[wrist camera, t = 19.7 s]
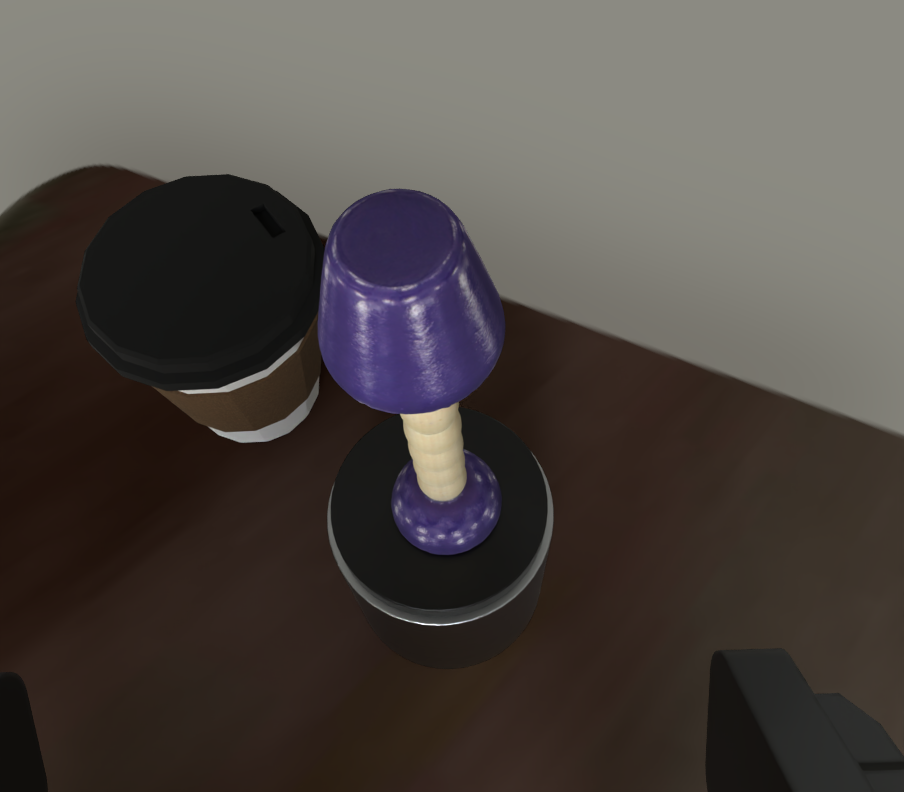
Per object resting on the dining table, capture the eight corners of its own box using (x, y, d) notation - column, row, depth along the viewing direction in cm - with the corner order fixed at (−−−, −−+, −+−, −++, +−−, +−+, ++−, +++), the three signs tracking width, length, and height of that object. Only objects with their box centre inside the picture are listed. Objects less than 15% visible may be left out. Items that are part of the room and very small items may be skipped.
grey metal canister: (322, 611, 41) (276, 548, 32) (415, 460, 44) (397, 365, 35) (487, 705, 38) (488, 665, 30) (571, 537, 42) (594, 457, 33)
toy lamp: (479, 583, 31) (472, 350, 16) (360, 548, 32) (251, 295, 17) (514, 467, 33) (536, 168, 18) (402, 437, 34) (336, 126, 19)
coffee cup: (295, 279, 50) (244, 127, 39) (398, 410, 46) (372, 281, 35) (128, 376, 47) (24, 242, 37) (221, 526, 43) (134, 423, 32)
